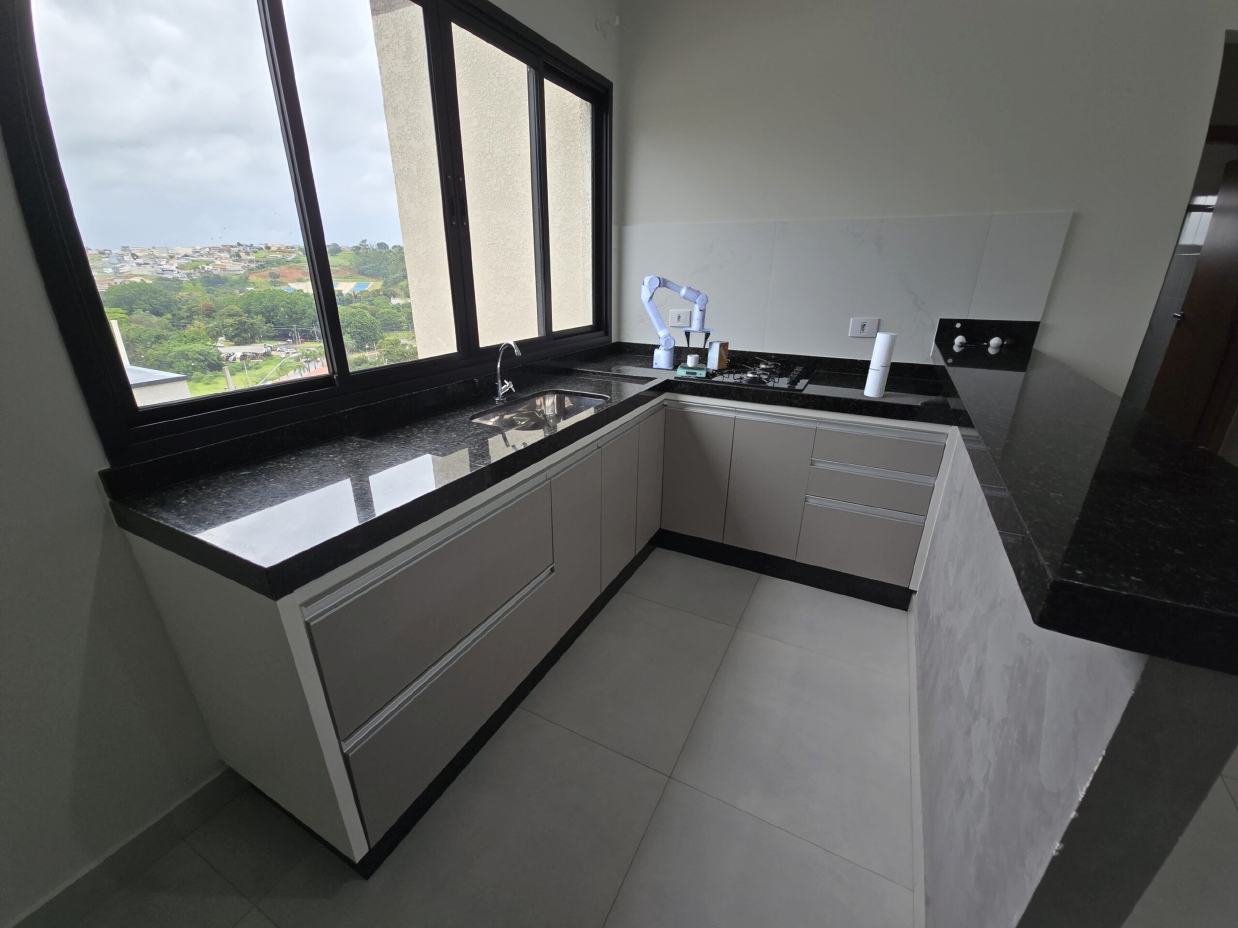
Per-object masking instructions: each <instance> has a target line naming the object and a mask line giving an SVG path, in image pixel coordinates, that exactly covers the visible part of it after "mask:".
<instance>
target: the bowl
mask: <svg viewBox="0 0 1238 928" xmlns="http://www.w3.org/2000/svg"><path fill="white" fill-rule="evenodd" d="M699 362H700V355H698V354H687V361H686V363H687V364H688V365H689V366H698V364H700V363H699Z"/></svg>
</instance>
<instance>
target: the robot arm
mask: <svg viewBox="0 0 1238 928" xmlns="http://www.w3.org/2000/svg"><path fill="white" fill-rule="evenodd" d="M658 288H660V289H661V288H665V289H668V290H670V291H672V292H676V293H678V294H679V296H680V298H681V299H683V300H685V301H688V302H690V303H693V311H692V324H691V325H692V326H691V327H682V333H684V336H685V341H686V346H687V348H688V349H689V348H690V343H691V342H690V339H691V333H697V334H704V338H703V339H704V340H703V346H702V347H703V349H706V346H707V342H708V339H710V336H711V335H712V334H714V329H713V328H705V322H706V309H707V305H708V303H709V297H708V295H707V294H706V293H704V292H701V290H699V289H694V288H692V286H691V285H683V286H681V285H679V284H677V283H675V282H673V281H671V280H669V279H668V278H665V277H662V276H658V275H655V274H647V275H645V277H644V278H643V279H642V282H641V292H640V293H641V294H640V299H641V302H642V304H643V306H644V308H645V311H646V313H647V314H648V317H649V318H650V319H649V320H651V324H652V325H653V327H654V329H655V331H656V334H657V337H658V343H659V345H660V346H659V347H658V348H655V349H654V353H653V365H652V368H653V369H663V370H664V369H665V370H666V369H667V370H673V369H674V368H675V365H674V352H675V346H676V340H675V338H674V337H673V336H672V335H671V334H670V332H669V330H668V329H667V327H666V325H665V322H664V320H663V318H662V316H661V314H660V312H659V310H658V308H657V306H656V303H655V301H654V299H653V297H654V295H655V292H656V291H657V290H658Z"/></svg>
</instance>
